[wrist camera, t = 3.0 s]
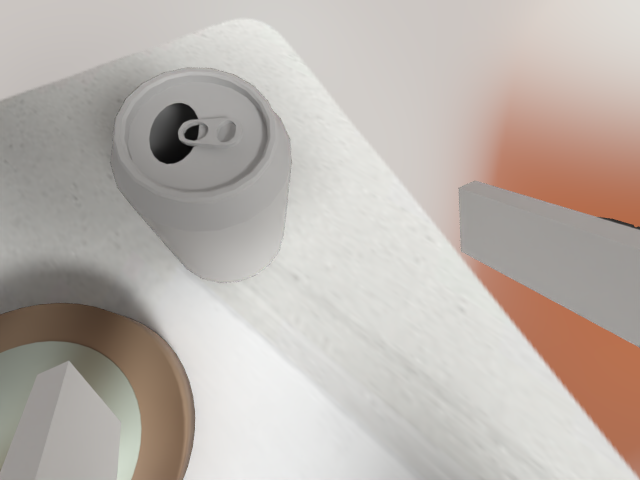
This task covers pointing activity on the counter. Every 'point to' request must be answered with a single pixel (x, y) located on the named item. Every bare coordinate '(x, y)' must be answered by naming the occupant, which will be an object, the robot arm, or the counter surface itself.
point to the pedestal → (103, 381)
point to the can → (205, 170)
